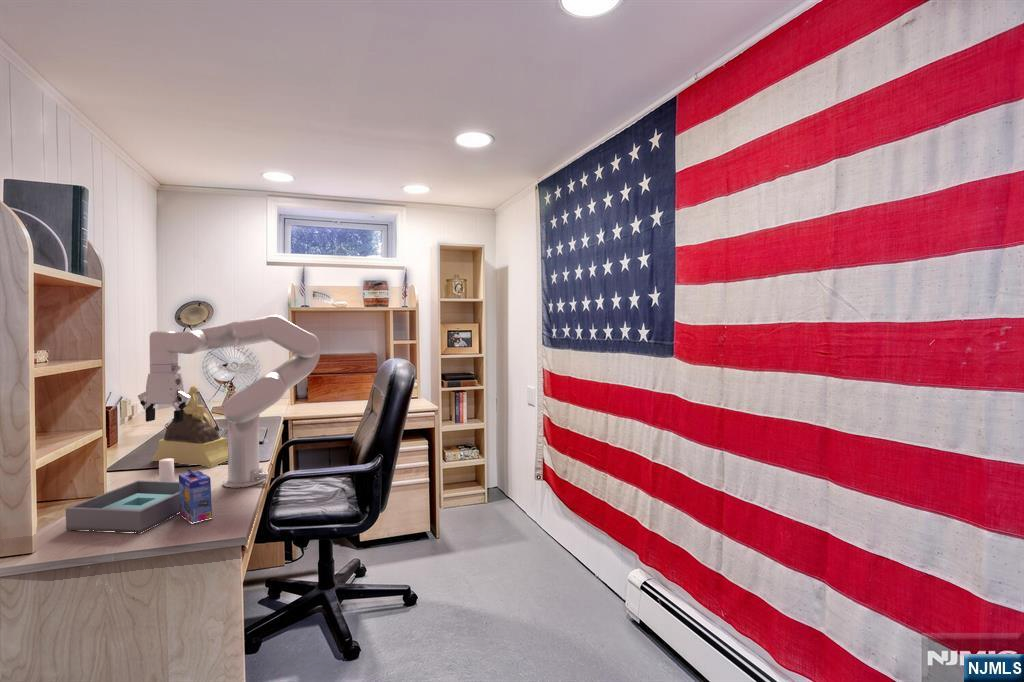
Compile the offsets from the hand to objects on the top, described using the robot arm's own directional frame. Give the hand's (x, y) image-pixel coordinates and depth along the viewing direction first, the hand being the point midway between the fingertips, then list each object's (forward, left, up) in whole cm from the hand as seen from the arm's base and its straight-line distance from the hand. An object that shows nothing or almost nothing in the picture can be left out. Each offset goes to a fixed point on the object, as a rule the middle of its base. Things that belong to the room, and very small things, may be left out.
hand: (164, 421), depth 161 cm
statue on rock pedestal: (+15, -33, -23) cm, 43 cm away
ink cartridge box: (-25, +20, -23) cm, 40 cm away
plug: (0, 0, -23) cm, 23 cm away
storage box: (-8, +20, -23) cm, 31 cm away
